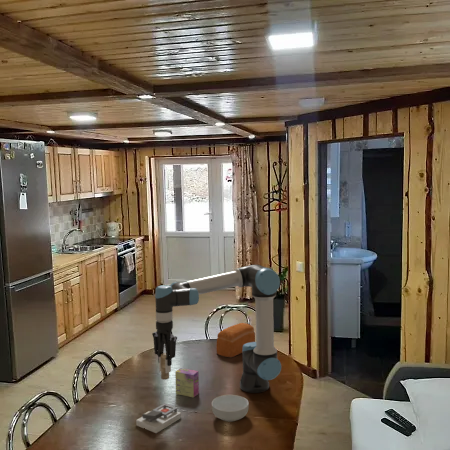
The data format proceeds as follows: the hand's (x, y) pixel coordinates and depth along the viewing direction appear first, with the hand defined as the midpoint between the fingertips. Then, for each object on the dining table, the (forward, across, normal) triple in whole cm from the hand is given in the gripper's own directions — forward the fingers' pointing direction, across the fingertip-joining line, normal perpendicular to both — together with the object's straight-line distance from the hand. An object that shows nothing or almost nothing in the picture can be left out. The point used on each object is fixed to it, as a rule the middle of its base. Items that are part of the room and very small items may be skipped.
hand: (165, 371), depth 218 cm
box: (+21, +8, -24) cm, 33 cm away
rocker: (+17, 0, +9) cm, 19 cm away
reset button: (+20, 0, +1) cm, 20 cm away
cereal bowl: (+21, -24, -16) cm, 36 cm away
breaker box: (+22, 0, +5) cm, 22 cm away
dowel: (+3, 0, 0) cm, 3 cm away
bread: (+21, +24, -88) cm, 94 cm away
